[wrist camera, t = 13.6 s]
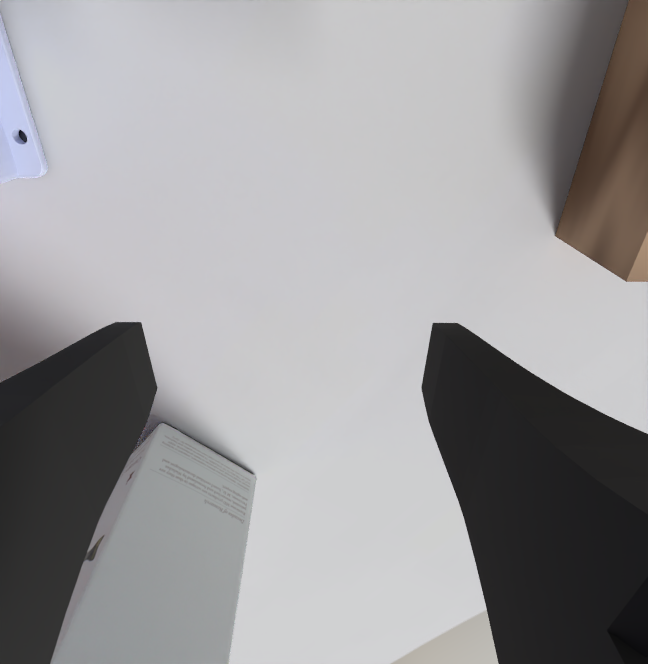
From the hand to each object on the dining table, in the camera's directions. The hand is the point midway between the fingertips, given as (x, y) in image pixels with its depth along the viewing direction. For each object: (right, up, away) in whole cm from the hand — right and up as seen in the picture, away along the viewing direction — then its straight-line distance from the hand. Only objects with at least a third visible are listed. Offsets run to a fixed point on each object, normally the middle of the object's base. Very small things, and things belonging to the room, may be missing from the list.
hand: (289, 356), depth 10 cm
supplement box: (-8, -9, +16) cm, 20 cm away
